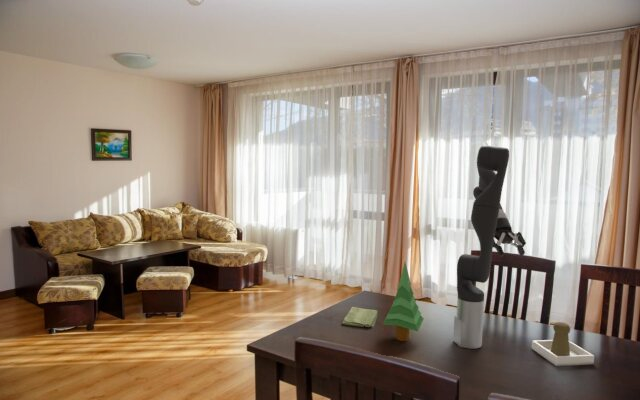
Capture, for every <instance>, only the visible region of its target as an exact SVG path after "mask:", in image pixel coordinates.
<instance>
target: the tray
mask: <svg viewBox="0 0 640 400" xmlns="http://www.w3.org/2000/svg"><path fill="white" fill-rule="evenodd" d="M552 342H553V339H544V340H543V339H542V340H541V339H537V340H536V339H535V340H532V341H531V349H532V351H535V352H536V353H537V354H538V355H540V356H541V357H543V358H544V359H545V360H546V361H548V362H550V363H552V364H553V365H554V366H556V367H562V366H563V367H564V366H581V365H582V366H584V365H594V363H595V355H594V354H593V353H591V352H589V351H587V350H585V349H584V348H582V347H580V346H579V345H577V344H575V343H574V342H572V341H570V340H569V350H570V356H556V355H555V354H554V353H552V352H551V347H552Z"/></svg>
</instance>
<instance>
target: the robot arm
mask: <svg viewBox="0 0 640 400" xmlns="http://www.w3.org/2000/svg"><path fill="white" fill-rule="evenodd" d="M509 160H510V150H509V148H507V147H504V146H497V145H496V146H495V145H481V146H480V148H478V152H477V156H476V168H477V172H478V185H477V186H475V187H474V188H473V191H472V192H473V193H472V194H473V197H474V202H473V204H472V210H471V215H470V216H471V217H470V222H471V224H472V227H473V229H474V231H475V234H476V236H477V239H478V242H479V246H480V248H479V249H480V250H479V251H480V253H479V255H474V254H469V253H468V254H467V253H464V254H461V255H460V256H459V257H458V260H457V262H456V263H457V264H456V292H457V301H456V302H457V304H456V315H455V316H454V321H453V340H452V341H453V342H454V343H455V344H457V346H458V347H460V348H466V349H469V350H470V349H473V350H474V349H475V350H476V349H479V348H481V347H482V346H483V345H482V344H483V329H484V328H483V326H484V325H483V324H484V322H483V321H484V310H485V309H484V308H485V307H484V305H485V292H484V291H483V290H482V289H480V288H479V287H477V286H476V285H475V284H473V283H472V282H476V283H482V284H483V283H486V282H487V281H488V279H489V277H490V275H491V274H490V273H491V269H492V259H493V249H495V250H496V252H497V254H498V255H499V257H503V256H504V255H505V252H504V250H503V247H502V246H501V244H503V245H511V246H513V247H515V248H516V250H517V252H518V254H519V257H523V256H525V253H526V251H525V250H524V246H526V244H527V242H526V240H525V238H524V237H523V234H522V232H520V231H518V232H515V233H514V232H513V230H512V229H513V228H512V226H511V223H510V222H509V219H508V217H507V214H506V213H505V211H504V209H503V207H502V204H501V198H502V192H503V186H504V182H505V178H506V173H507V169H508V165H509ZM495 239H496V240H497V241H495Z"/></svg>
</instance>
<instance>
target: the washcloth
mask: <svg viewBox="0 0 640 400" xmlns="http://www.w3.org/2000/svg"><path fill="white" fill-rule="evenodd" d="M377 318H378V310H376V309H370V308H369V309H368V308H361V307H356V306H352V307H351V308H350V309H349V311H348V312H347V314H346V315H345V317H344V318H343V319H342V323H341V324H342V325H344V326H351V327H364V326H365V327H364V328H370V327H372V328H373V329H374V327H375V325H376V321H377ZM372 328H371V329H372Z"/></svg>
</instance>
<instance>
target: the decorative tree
mask: <svg viewBox="0 0 640 400" xmlns="http://www.w3.org/2000/svg"><path fill="white" fill-rule="evenodd" d="M397 287H398V288H397V291H396V294H395V297H394V299H393V303H392V304H391V307H390V308H389V310H388V313H387V316H386V318H385V319H384V321H383V323H382V325H384V326H385V325H386V326H387V325H388V326H396V329H395V330H396V331H395V336H396V337H395V339H396V340H398V341H401V342H407V341H408V340H409V339H410V330H412V331H415V332H419V330H420V328H421V325H422V323H423V321H424V317H423V316H422V315H421V314H422V312H421V311H420V309H419V306H418V304H417V301H416V298H415V297H414V292H413V290H412V283H411V279H410V275H409V271H408V267H407V263H406V261H404V264H403V267H402V271H401V276H400V279H399V283H398V286H397Z"/></svg>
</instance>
